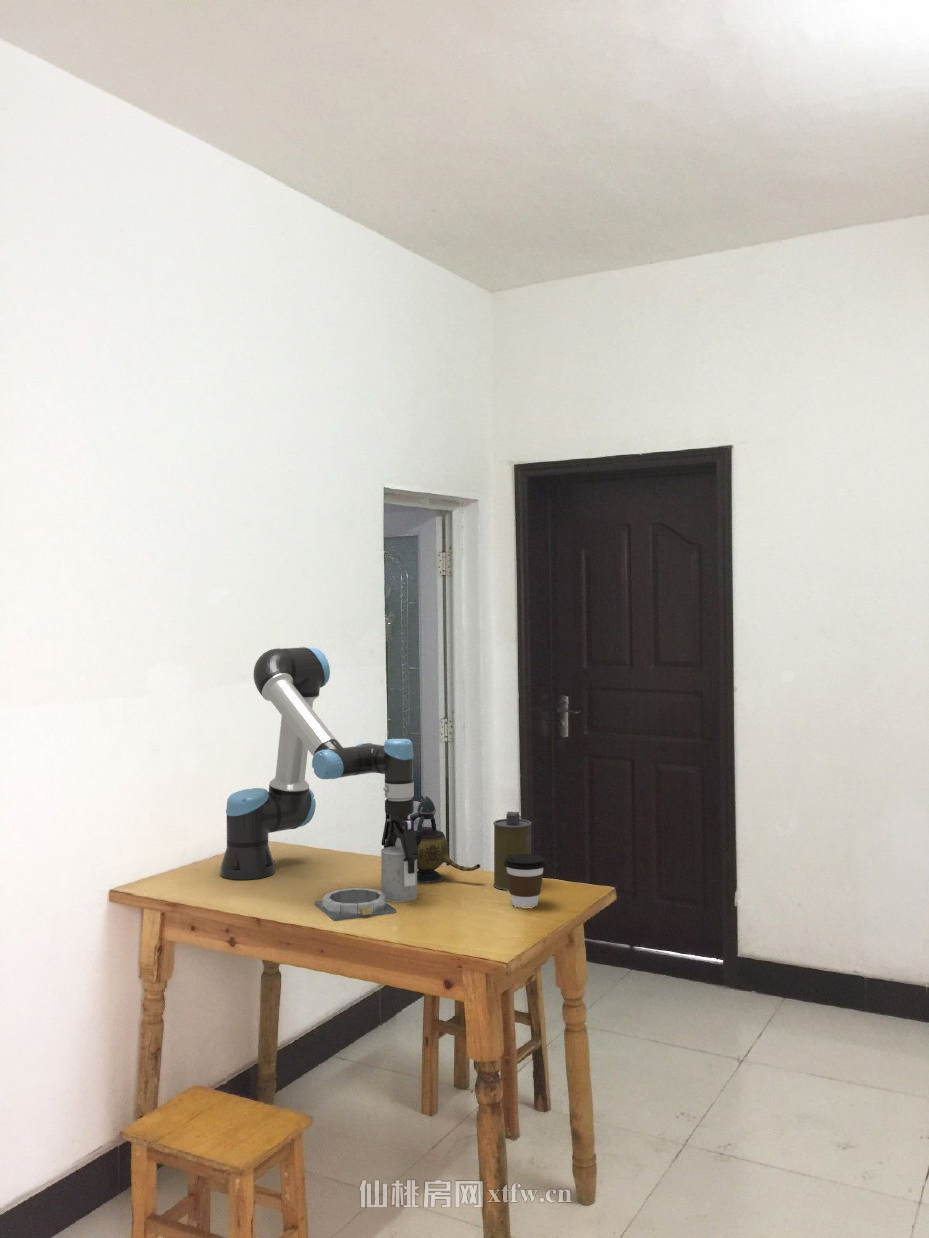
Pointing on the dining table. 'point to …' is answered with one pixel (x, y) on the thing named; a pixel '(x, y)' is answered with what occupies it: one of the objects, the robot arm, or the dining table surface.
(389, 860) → the grey speckled cylinder
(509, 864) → the coffee cup
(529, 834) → the canister
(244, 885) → the dining table surface
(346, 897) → the socket
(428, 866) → the teapot
